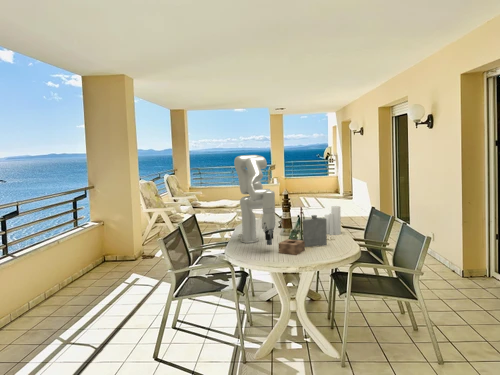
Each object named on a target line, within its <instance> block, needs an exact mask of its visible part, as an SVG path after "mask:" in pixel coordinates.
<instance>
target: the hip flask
mask: <svg viewBox="0 0 500 375" xmlns="http://www.w3.org/2000/svg"><path fill="white" fill-rule="evenodd" d="M327 236H328V234H327V225H326V218H325V217H318V215H316V214H312V215H311V218H305V219H302V241H305V248H308V247H321V246H325V247H326V246H328V245H327V243H328V237H327Z"/></svg>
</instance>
